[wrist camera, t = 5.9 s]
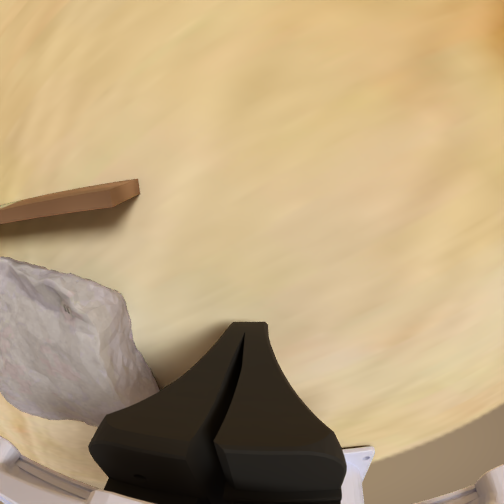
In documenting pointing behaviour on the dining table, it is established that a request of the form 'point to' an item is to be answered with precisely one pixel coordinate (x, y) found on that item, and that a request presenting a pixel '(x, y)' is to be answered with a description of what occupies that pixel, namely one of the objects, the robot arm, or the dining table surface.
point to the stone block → (67, 346)
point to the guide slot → (70, 201)
